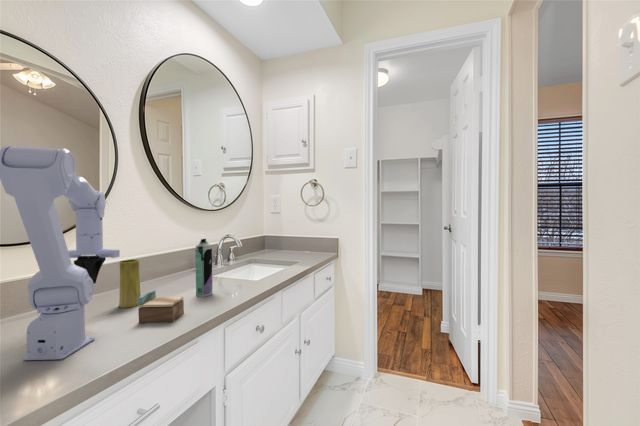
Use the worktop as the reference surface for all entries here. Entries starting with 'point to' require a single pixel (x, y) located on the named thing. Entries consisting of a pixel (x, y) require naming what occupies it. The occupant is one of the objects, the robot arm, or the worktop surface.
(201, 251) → the spray can
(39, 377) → the worktop surface
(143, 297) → the tan panel teal strip
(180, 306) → the box
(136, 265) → the vase
